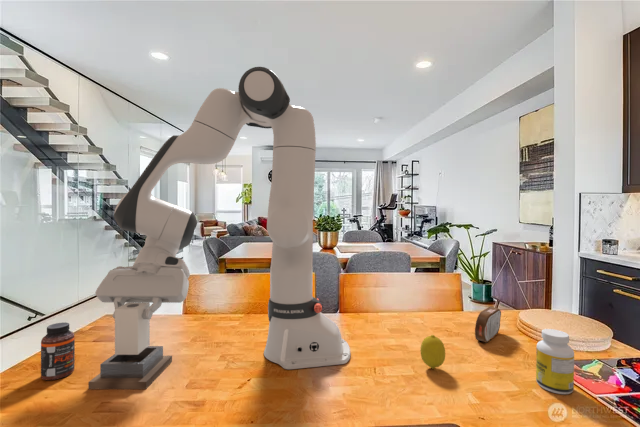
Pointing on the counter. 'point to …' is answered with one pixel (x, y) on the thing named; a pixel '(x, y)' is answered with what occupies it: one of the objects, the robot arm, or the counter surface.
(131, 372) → the socket collar
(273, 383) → the counter surface
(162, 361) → the walnut jig board
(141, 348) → the nylon bushing block
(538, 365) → the pill bottle
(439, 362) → the lemon
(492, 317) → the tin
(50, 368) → the supplement bottle
